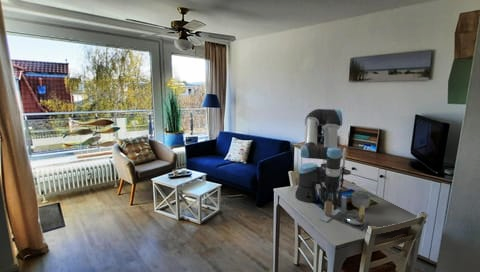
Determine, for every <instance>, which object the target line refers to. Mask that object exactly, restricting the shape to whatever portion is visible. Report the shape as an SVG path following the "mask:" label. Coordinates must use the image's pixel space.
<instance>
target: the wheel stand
mask: <svg viewBox="0 0 480 272" xmlns="http://www.w3.org/2000/svg"><path fill="white" fill-rule="evenodd" d="M339 222H340V224H343V225H346V226H348V227H352V228H354V229H357V230H359V231H362V230H363V229H364V228H365V226H367V225H368V223H369V221H368V220H366V219H365V223H364V224H363V225H353V224H350V223H348V222H347V221H346V220H345V217H343V218H342V219H341V220H340V221H339Z"/></svg>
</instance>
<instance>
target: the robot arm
mask: <svg viewBox="0 0 480 272" xmlns="http://www.w3.org/2000/svg"><path fill="white" fill-rule="evenodd" d="M304 125H305V135H304V136H305V137H304V145H301V146H300V157H301V158H304V159H314V160H315V159H316V160H322V162H321V164H320V166H318V163H314V162H308V163H303V164H301V165H300V166H299V171H298V183H297V184H298V186H297V187H296V188H297V189H296V191H295V193H294V194H295V195H294V197H295V198H296V199H297V200H299V201H300V202H301V201H302V202H305V203H307V202H308V203H313V202H316V201H318V200H319V192H318V189H317V185H320V188H321V200H323V201H324V203H323V202H322V204H323V205H322V206H323V207H324V211H323V212H324V213H325V207H326V200H327V199H328V195H329V192H330V190H331V191H332V194H333V203H334V204H332V213H331V215H334V214H335V210H336V209H337V205H338V206H339V205H341V204H342V203H341V198H342V196H343V193H344V192H343V190H344V188H341V187H340V186H341V185H340V182H341V181H340V179H341V173H342V168H340V167H341V165H342V157H343V150H342V148H341V147H338V130H339V129H340V128H341V127H342V126H343V113H342V111H341V110H340V109H334V108H332V109H331V108H329V109H327V108H326V109H325V108H316V109H313V110H312V111H310V112H308V113H307V115H306V117H305V119H304ZM318 126H322V127H321V128H322V129H323V130H324V131H323V134H324V136H323V139H324V140H323V146H318ZM325 187H326V192H325ZM337 189H339V190H338V198H337V193H336V192H337ZM324 195H325V196H324ZM321 200H320V201H321Z"/></svg>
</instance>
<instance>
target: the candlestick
mask: <svg viewBox="0 0 480 272" xmlns="http://www.w3.org/2000/svg"><path fill="white" fill-rule="evenodd" d="M343 147H344V148H343V150H342V158H341V166H340V169H342V173H341V179H340V183H339V186H340V187H341V188H344V190H343V192H342V193H347V192H349V189H348V187H345V186H343V185H344V181H345V179H344V176H349V175H351V174H352V171H351V170H349V169H346V168H347V167H345V165H346V156H347V154H346V153H347V148H346V147H347V144H345V145H344V146H343ZM338 190H339V189H337V191H338ZM338 192H339V191H338Z"/></svg>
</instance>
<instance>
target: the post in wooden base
mask: <svg viewBox="0 0 480 272" xmlns="http://www.w3.org/2000/svg"><path fill="white" fill-rule="evenodd" d="M332 204H334V203H333V200H332V199H327V200H326V207H325V206H324V209H325V212H324V215H327V216H329V217H332V216H333V215H331V213H332ZM341 204H342V200H341ZM337 206H338V207H339V205H337Z"/></svg>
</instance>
